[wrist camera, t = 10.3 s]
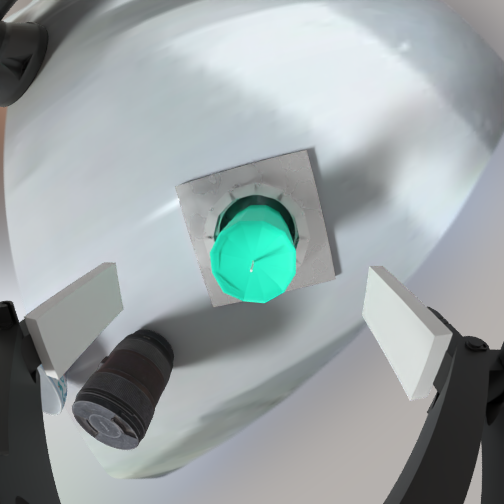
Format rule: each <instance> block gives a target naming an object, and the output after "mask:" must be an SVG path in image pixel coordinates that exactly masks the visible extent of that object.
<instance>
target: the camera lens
mask: <svg viewBox="0 0 504 504" xmlns="http://www.w3.org/2000/svg"><path fill="white" fill-rule="evenodd" d="M173 358H174V355H173V350H172V348H171V346H170V344H169V343H168V342H167V340H166V339H165V338H163V337H162V336H161V335H159V334H157V333H155V332H153V331H150V330H139V331H136V332H135V333H133V334H130V335H128V336H127V337H125V338H124V340H122V341H121V342H120V343H119V344H118V345H117V346H116V347H115V348H114V350H113V351H112V352H111V353H110V355H109V357H105V358H104V359H103V360H102V362H101V363H100V364H99V366H98V370H97V371H96V372H95V373H94V374H93V375H92V376H91V377H90V378H89V380H88V381H87V382H86V383H85V385H84V386H83V387H82V389H81V390H80V391H79V393H78V394H77V396H76V400H75V402H74V404H73V406H72V412H73V414H74V417H75V419H76V420H77V422H78V423H79V424H80V425H81V426H82V428H83V429H84V430H85V431H86V432H88V433H89V434H90V435H91V436H93V437H94V438H95V439H97V440H99V441H100V442H102V443H104V444H106V445H108V446H111V447H114V448H117V449H123V450H131V449H134V448H136V447H137V446H138V444H139V443H140V441H141V440H142V439H143V438H144V436H145V433H146V431H147V429H148V427H149V425H150V422H151V420H152V418H153V415H154V411H155V407H156V405H157V403H158V401H159V398H160V396H161V394H162V392H163V391H164V389H165V387H166V385H167V383H168V381H169V378H170V374H171V371H172V368H173Z"/></svg>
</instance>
